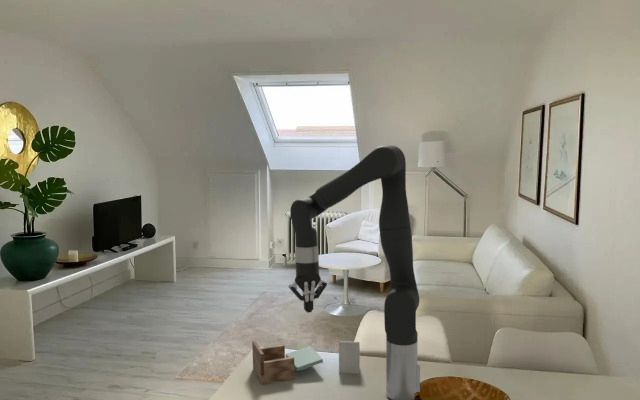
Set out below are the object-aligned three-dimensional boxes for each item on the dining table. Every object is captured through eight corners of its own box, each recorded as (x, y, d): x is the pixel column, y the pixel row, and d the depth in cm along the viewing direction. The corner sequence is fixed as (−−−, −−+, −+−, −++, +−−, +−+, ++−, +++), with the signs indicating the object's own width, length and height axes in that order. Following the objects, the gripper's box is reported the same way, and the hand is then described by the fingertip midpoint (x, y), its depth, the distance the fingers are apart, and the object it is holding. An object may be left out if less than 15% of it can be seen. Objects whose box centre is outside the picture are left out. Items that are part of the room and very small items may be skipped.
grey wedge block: (359, 373, 168) (359, 344, 167) (339, 372, 169) (338, 343, 168) (359, 368, 172) (359, 340, 171) (339, 367, 172) (339, 339, 171)
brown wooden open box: (284, 364, 176) (283, 336, 175) (294, 378, 165) (294, 349, 164) (253, 369, 172) (252, 340, 171) (261, 384, 161) (260, 354, 160)
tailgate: (285, 357, 176) (311, 348, 179) (295, 371, 165) (323, 362, 168) (284, 354, 176) (310, 345, 179) (295, 368, 164) (322, 359, 168)
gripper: (290, 264, 158) (292, 318, 160) (330, 259, 162) (331, 312, 164) (284, 259, 165) (286, 311, 167) (322, 255, 169) (324, 305, 171)
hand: (308, 311), depth 165 cm, fingers closed
